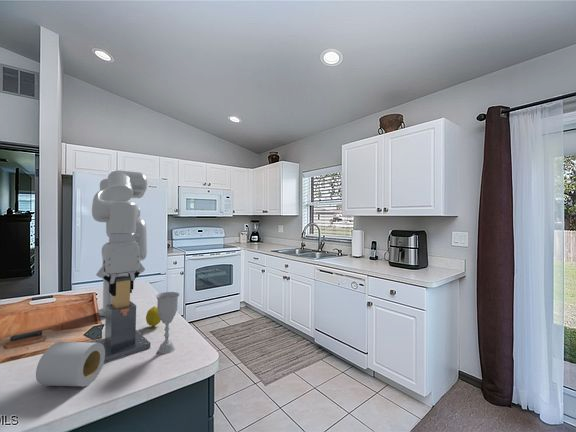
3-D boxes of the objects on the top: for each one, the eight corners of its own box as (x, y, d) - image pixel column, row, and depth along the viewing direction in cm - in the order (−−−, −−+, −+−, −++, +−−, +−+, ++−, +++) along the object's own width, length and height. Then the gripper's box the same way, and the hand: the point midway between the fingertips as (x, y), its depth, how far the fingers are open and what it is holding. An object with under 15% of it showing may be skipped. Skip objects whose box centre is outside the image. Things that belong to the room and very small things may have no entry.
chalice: (182, 346, 90) (184, 293, 90) (167, 356, 83) (168, 299, 83) (165, 342, 92) (166, 291, 92) (149, 352, 86) (150, 296, 86)
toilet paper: (35, 394, 65) (36, 353, 65) (68, 370, 75) (69, 335, 75) (76, 395, 65) (77, 354, 65) (104, 371, 75) (105, 336, 75)
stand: (89, 347, 88) (90, 304, 88) (136, 333, 98) (136, 296, 98) (100, 363, 79) (101, 316, 78) (150, 347, 89) (151, 305, 89)
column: (111, 334, 88) (112, 277, 88) (125, 330, 91) (126, 275, 91) (114, 338, 85) (116, 279, 85) (129, 334, 88) (131, 277, 88)
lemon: (155, 330, 102) (155, 309, 101) (142, 328, 103) (143, 308, 103) (164, 324, 107) (165, 304, 107) (152, 323, 108) (152, 303, 108)
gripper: (145, 236, 97) (144, 286, 97) (89, 238, 85) (87, 296, 85) (153, 238, 92) (152, 291, 92) (94, 240, 80) (93, 302, 80)
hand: (121, 293), depth 88 cm, fingers closed on column, 4 cm apart
